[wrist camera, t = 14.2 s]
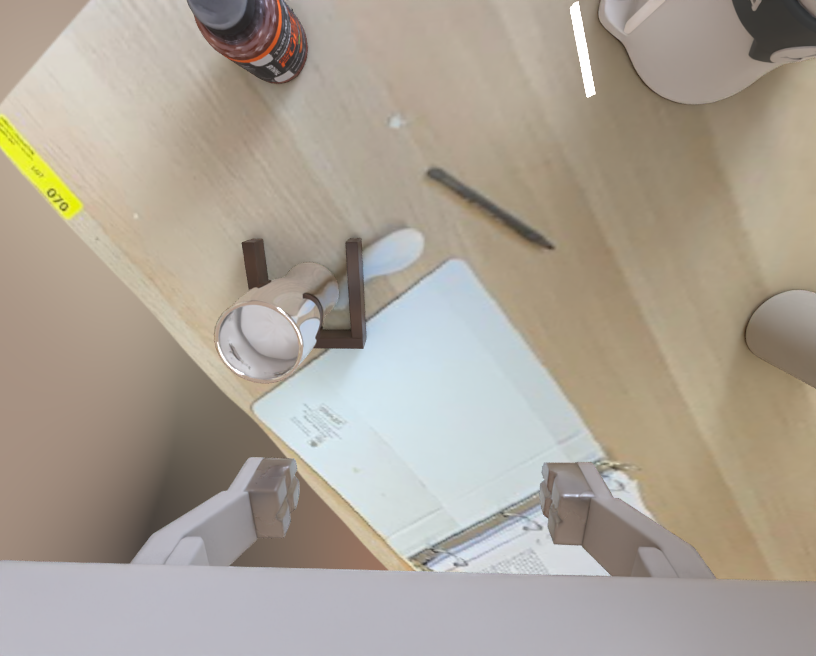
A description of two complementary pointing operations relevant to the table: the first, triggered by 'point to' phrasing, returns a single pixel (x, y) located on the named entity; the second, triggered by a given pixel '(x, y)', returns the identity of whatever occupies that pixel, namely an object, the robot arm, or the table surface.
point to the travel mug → (786, 333)
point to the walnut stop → (357, 334)
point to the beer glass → (276, 323)
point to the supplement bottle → (254, 35)
